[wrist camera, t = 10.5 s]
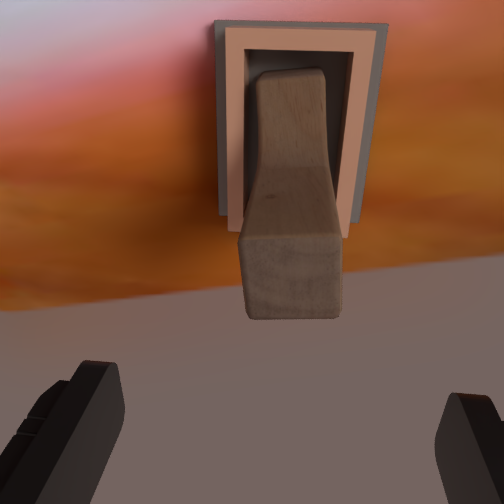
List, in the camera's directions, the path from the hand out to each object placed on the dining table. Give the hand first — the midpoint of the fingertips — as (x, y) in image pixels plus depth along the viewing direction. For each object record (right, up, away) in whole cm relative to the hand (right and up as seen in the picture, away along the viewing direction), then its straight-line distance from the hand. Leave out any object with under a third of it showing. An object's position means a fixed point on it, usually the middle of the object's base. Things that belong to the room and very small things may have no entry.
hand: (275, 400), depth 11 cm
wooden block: (+3, +13, +23) cm, 27 cm away
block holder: (+3, +13, +24) cm, 28 cm away
